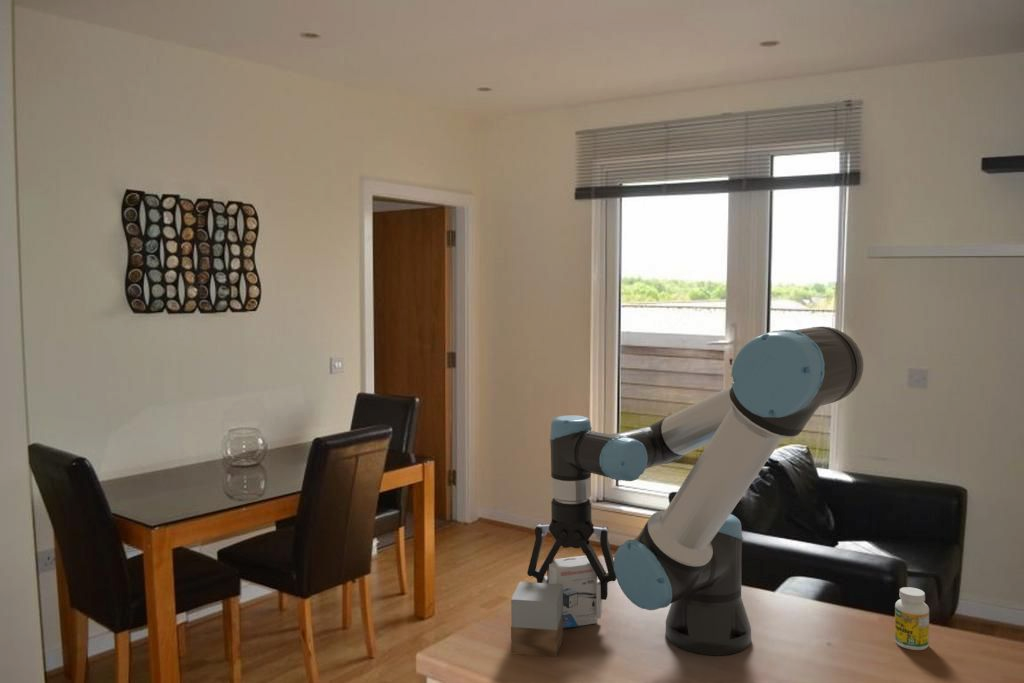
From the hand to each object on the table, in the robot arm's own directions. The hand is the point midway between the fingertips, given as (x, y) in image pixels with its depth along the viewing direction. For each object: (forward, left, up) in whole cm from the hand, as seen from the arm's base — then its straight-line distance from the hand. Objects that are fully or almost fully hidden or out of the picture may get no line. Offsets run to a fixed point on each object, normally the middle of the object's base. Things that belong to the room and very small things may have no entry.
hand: (572, 613), depth 152 cm
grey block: (+5, +10, +3) cm, 12 cm away
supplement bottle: (-60, -1, -2) cm, 60 cm away
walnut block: (+5, +10, -2) cm, 12 cm away
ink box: (0, 0, -2) cm, 2 cm away
